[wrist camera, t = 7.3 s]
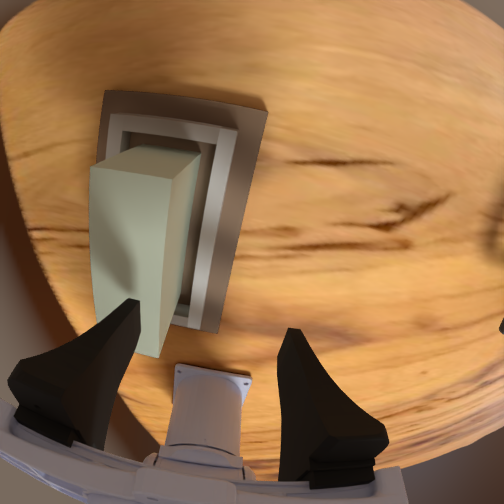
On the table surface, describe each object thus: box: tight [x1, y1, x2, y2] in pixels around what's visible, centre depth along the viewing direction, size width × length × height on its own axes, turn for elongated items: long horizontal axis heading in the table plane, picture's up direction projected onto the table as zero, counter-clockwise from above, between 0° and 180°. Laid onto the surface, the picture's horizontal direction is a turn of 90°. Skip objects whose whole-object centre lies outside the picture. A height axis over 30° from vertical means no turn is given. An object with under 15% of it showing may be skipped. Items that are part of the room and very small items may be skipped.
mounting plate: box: [96, 90, 268, 334], centre depth 20 cm, size 18×11×2 cm, turn 167°
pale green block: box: [89, 144, 201, 358], centre depth 17 cm, size 11×4×7 cm, turn 167°
